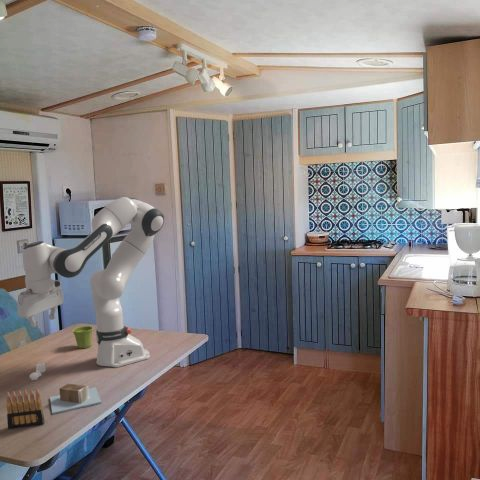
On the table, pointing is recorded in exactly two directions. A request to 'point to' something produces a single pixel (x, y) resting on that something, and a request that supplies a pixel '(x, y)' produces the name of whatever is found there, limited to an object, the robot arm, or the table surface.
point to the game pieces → (38, 371)
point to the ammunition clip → (21, 416)
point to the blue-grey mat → (65, 406)
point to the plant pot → (83, 336)
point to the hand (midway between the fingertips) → (43, 322)
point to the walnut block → (74, 393)
